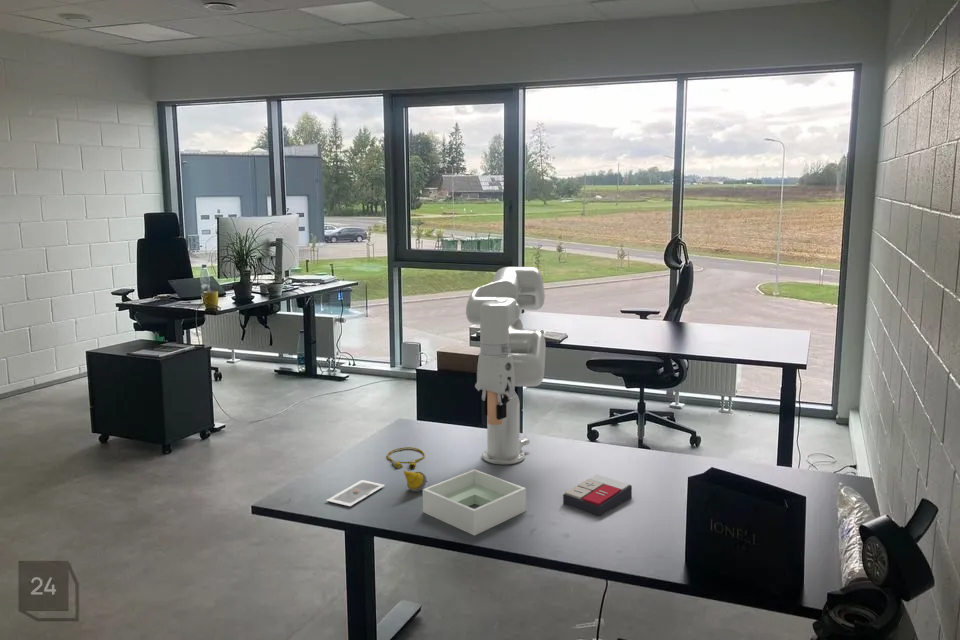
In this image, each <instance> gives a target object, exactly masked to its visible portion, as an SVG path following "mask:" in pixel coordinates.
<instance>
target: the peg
mask: <svg viewBox="0 0 960 640" xmlns="http://www.w3.org/2000/svg"><path fill="white" fill-rule="evenodd" d="M502 398H503V395H502ZM497 405H498V398H497V393H494V392H491V391H487V414H488V424H491V425H499V424H502V423H503V419H500V420H498V419H497Z"/></svg>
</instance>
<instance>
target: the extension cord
mask: <svg viewBox="0 0 960 640" xmlns="http://www.w3.org/2000/svg"><path fill="white" fill-rule="evenodd" d="M405 450H407V451H416V452H419V453H421V454H422V457H421V458H417V459H411V460H410V461H398V460H396V459H392V458H391V457H390V456H391V455H392V454H395V453H396V452H400V451H405ZM389 455H390V456H389ZM425 456H426V454H425V452H424V451H423V450H422V449H419V448H416V447H412V446H411V447H409V446H406V447H399V448H395V449H392V450H390V451H389V452H388V453H387V454H386V457H385V458H386V459H387V460H389V462H390V461H391V463H392V465H393V467H394V468H396V469H402V468H403V467H404V466H403V464H409V468H410V469H411V470H412V468H413V469H414V470H415V469H416V466H417V465H416V464H417V463H418V462H421V461H422V460H423V459H425Z"/></svg>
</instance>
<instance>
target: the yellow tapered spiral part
mask: <svg viewBox="0 0 960 640" xmlns="http://www.w3.org/2000/svg"><path fill="white" fill-rule="evenodd" d="M403 474H404V477H405V479H406V483H407V485H406V487H407V488H408V490H410V491H411V492H413V493H417V492H420V491H423V489H425V486H426V484H427V483H428V480H427V476H426V475H425V474H424V473H423V472H421V471H406V470H405V471H403Z"/></svg>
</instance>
